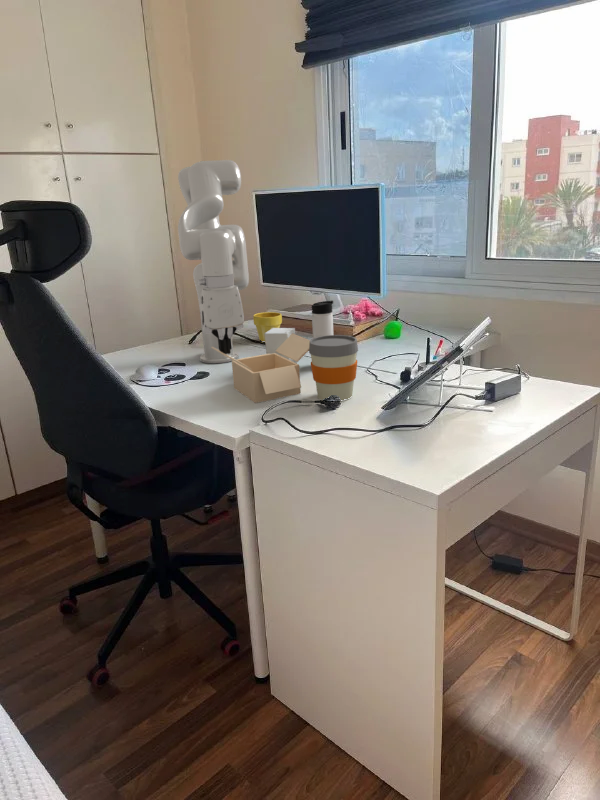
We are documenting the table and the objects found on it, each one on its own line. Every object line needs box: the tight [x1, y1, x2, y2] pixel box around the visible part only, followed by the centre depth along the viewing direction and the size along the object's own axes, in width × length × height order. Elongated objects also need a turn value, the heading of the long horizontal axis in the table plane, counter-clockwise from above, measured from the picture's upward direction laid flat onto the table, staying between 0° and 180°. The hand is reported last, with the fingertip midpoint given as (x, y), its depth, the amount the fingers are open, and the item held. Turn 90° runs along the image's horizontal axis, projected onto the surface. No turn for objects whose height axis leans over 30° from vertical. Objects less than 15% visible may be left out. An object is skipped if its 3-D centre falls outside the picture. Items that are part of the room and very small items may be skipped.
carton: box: [231, 353, 302, 404], centre depth 164 cm, size 23×13×8 cm, turn 27°
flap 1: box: [211, 347, 252, 370], centre depth 158 cm, size 14×7×1 cm
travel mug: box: [311, 300, 334, 339], centre depth 183 cm, size 6×7×20 cm
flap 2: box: [276, 333, 311, 363], centre depth 166 cm, size 14×7×1 cm
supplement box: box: [264, 327, 298, 364], centre depth 181 cm, size 7×7×13 cm
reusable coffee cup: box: [308, 334, 359, 401], centre depth 156 cm, size 13×13×15 cm
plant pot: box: [252, 311, 283, 341], centre depth 220 cm, size 10×10×10 cm
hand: (225, 352), depth 157 cm, fingers closed
